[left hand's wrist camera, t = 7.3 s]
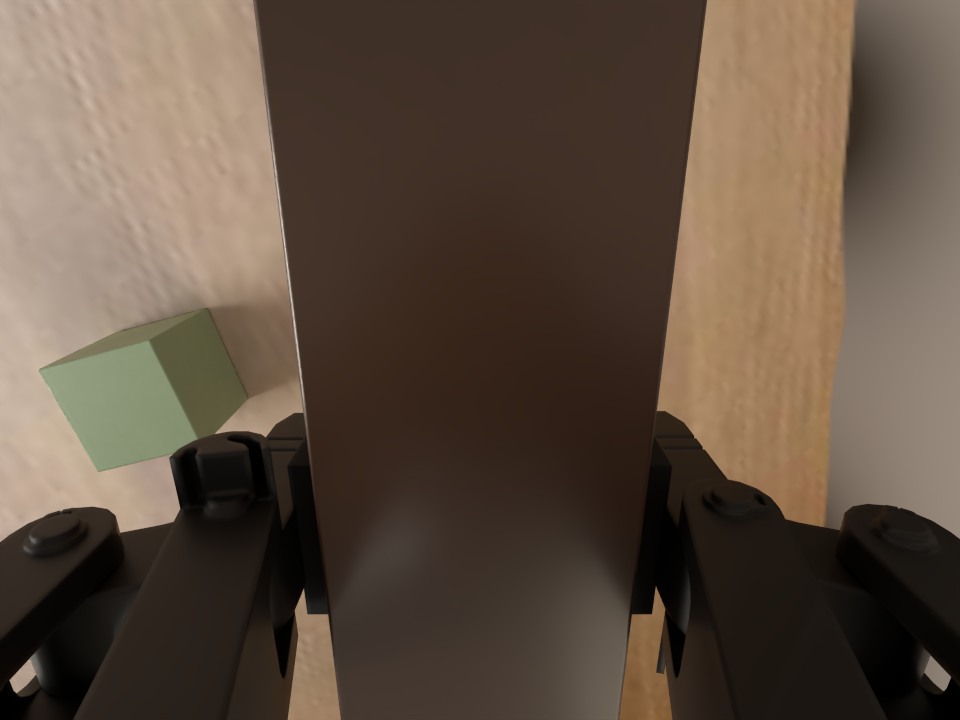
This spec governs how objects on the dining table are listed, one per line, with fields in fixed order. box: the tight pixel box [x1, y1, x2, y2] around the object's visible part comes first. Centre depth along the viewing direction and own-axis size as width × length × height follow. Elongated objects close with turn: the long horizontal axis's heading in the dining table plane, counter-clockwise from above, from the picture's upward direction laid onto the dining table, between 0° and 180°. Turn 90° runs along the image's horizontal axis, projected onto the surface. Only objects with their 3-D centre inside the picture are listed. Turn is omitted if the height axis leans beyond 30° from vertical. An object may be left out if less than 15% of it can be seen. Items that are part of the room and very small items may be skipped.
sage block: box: [39, 308, 248, 472], centre depth 25 cm, size 5×5×5 cm
